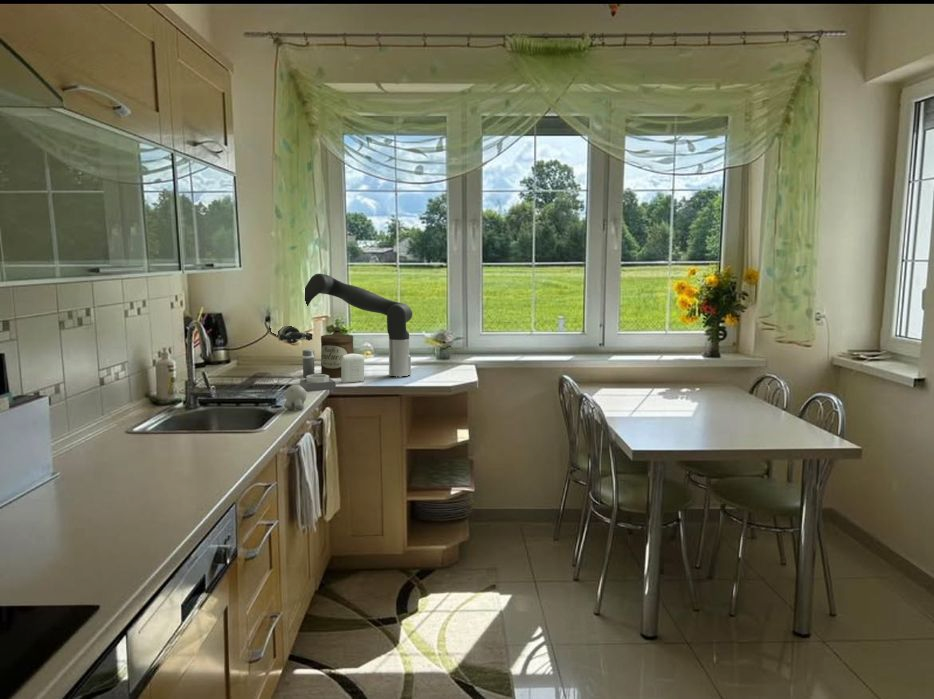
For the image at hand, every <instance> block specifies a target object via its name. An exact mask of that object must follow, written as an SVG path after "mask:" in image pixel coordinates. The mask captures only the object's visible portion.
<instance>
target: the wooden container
mask: <svg viewBox="0 0 934 699" xmlns="http://www.w3.org/2000/svg"><path fill="white" fill-rule="evenodd" d="M332 331H333V333H331V334H324V335H321V336H320V345H321V346H320V350H321V351H320V353H321V354H320V367H321V368H320V373H321V374H324V375H329V378H336V379H337V378H339V377H340V378H341V359H342V356H344V355H347V354H355V353H354V352H355V351H354V335H352V334H346V333H345V334H342V333H341V331H342V329H341V328H340V327H337V326H336V327H334V328H333V329H332Z"/></svg>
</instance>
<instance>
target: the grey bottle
mask: <svg viewBox="0 0 934 699" xmlns="http://www.w3.org/2000/svg"><path fill="white" fill-rule="evenodd" d="M313 374H315V350H314V349H303V350H302V378H306V376H308V375H313Z"/></svg>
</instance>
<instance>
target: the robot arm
mask: <svg viewBox="0 0 934 699" xmlns="http://www.w3.org/2000/svg"><path fill="white" fill-rule="evenodd" d="M304 288H305V301H306V304H307V306H308V307H309V306H310V303H311V302H312V300H313V299H314V298H315V297H317V296H318V295H320V294H321V295H329V296H333V297H337V298H339V299H340V300H342V301H344V302H345V303H347V304H349V305H350V306H352V307H354V308H357V309H359V310H363V311H366V312H371V313H378V314H381V315H384V316H386V330H387V335H388V376H389V377H390V376H396V377H395V378H398V377H397V376H408V375H412V368H411V367H412V355H410V333H409V332H408V330H407V323H408V322H410V320H412V318H413V310H412V309H411V307H410V306H409V305H408V304H405V303H403V302H398V301H396V300H395V301H394V300H392V299H388V298H385V297H383V296H381V295H379V294H377V293H374V292H372V291H370V290H367V289H364V288H361V287H358V286H356V285H351V284H347V283H345V282H342V281H340V280H338V279H336V278H334V277H333V276H331V275H328V274H324V273H315V274H314V275H312V276H311V277H310V279H309V281H308V282H307V284H306V285H305V287H304ZM268 332H269V333H270V334H271V335H272V336H274V337H276V338H278V340H279V341H281V342H282V341H284V342H286V343H288V344H296V343H297V342H298V341H312V340H313V333H310V332H302V331H300V330H299V329H298V328H297V327H295V326H294V327H292V326H284V327H282V328H281V329H280V330H279V331H278V335H277V336H276V334H274V333H272V332H271V328H270V324H269V326H268ZM408 377H409V376H408Z"/></svg>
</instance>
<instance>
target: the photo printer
mask: <svg viewBox="0 0 934 699" xmlns="http://www.w3.org/2000/svg"><path fill="white" fill-rule="evenodd" d="M340 380H341V384H342V383H343V384H347V383H356V382H357V383H358V382H359V381H361V382H364V381H365V356H364V354H360V353H354V354H347V355H344V356H342V359H341V377H340ZM359 383H360V382H359Z"/></svg>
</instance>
